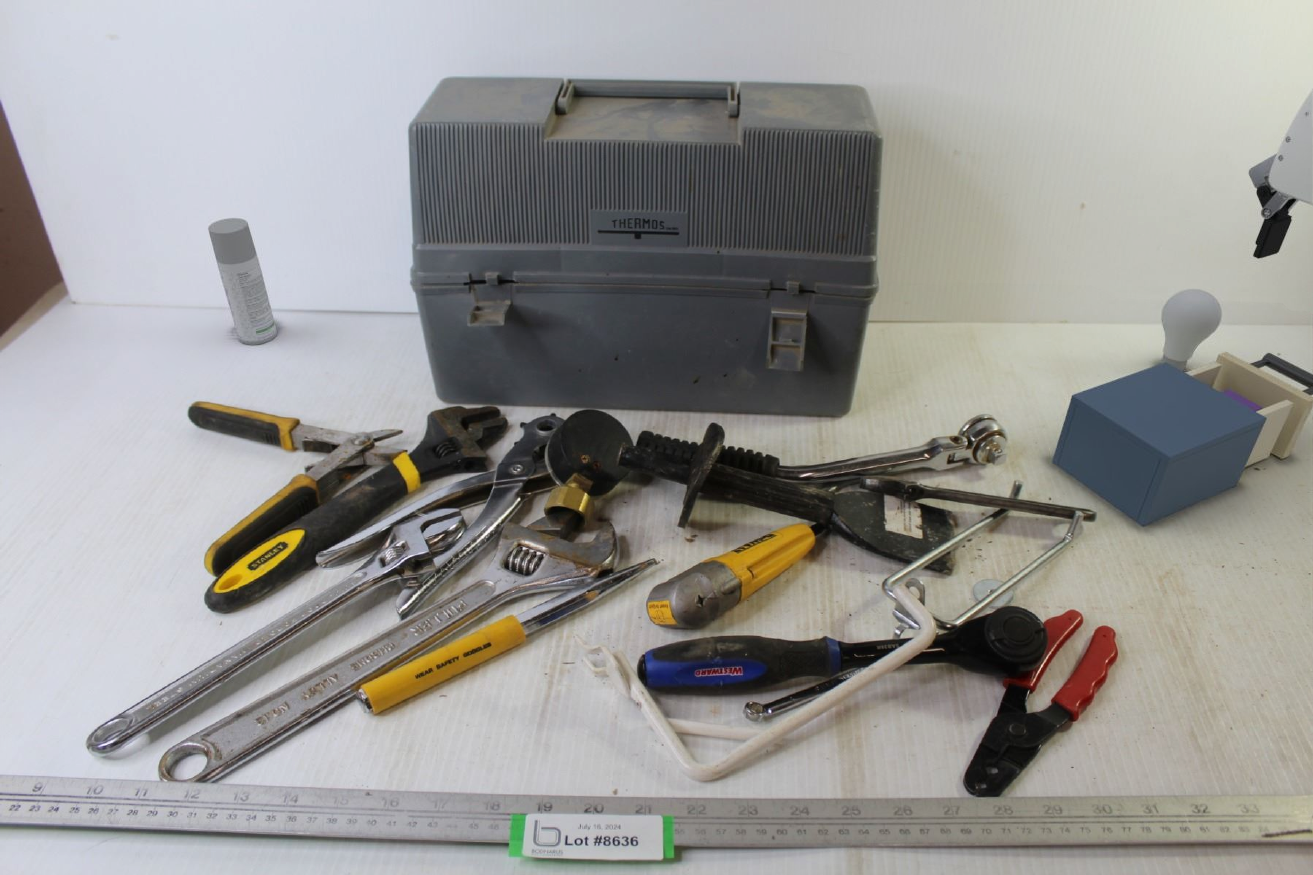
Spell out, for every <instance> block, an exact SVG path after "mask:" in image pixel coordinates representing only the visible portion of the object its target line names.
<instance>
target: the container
mask: <svg viewBox="0 0 1313 875" xmlns="http://www.w3.org/2000/svg"><path fill="white" fill-rule="evenodd" d="M207 230H208V233H209V237H210V241H211V242H210V243H211V245H212V246H211V247H212V250H213V253H214V256H215V262H216V265H217V269H218V272H219V275H220V279H221V283H222V286H223V289H224V293H225V297H226V299H227V304H228V307H229V310H230V314H231V317H232V321H233V324H234V327H235V331H236V334H237V337H238V340H239V342H240V343H242V344H244V345H248V346H254V345H255V346H256V345H262V344H266V343H268V342H270V341H272V340H273V339H275V338H276V337H277V335H278V330H277V326H276V323H275V322H276V321H275V319H274V314H273V310H272V306H271V303H270V299H269V295H268V290H267V287H266V284H265V279H264V276H263V272H262V268H261V265H260V264H261V263H260V260H259V256H258V254H257V250H256V246H255V243H254V240H253V236H252V232H251V229H250V226H249V223H248V221H247V220H246V219H243V218H239V217H230V218H223V219H218V220H216V221H214V222H212V223H210V225H209V226H208V228H207Z"/></svg>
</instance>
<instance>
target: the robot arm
mask: <svg viewBox="0 0 1313 875" xmlns="http://www.w3.org/2000/svg"><path fill="white" fill-rule="evenodd" d="M1248 176H1249V178H1250V180H1251V182H1252V185H1253V187H1254V189H1256V192H1255V193H1256V196H1257V199H1258V202H1259V203H1260V206H1261V210H1260V215H1261V217H1262V219H1263V221H1262V224H1261V226H1260V228H1259V229H1260V230H1259V232H1258V234H1257V237H1256V239H1255V245H1256V246H1255V249H1254V251H1253V254H1252V256H1253V258H1255V259H1258V260H1259V259H1264V258H1267V257H1270V256H1274V255H1276V254H1279V253H1280V250H1281V248H1282V246H1283V243H1284V241H1285V238H1286V236H1287V233H1288V231H1289V229H1290V226H1291V223H1292V222H1293V215H1290V214H1289V213H1290V211H1291V210H1292V209H1293V208H1294V207H1295V206H1296V204H1298V203H1299V201H1300V202H1302V203H1305V204H1307V205H1311V206H1313V88H1312V89H1311V91H1310V92H1309V93H1308V95H1307V96H1306V98H1305V99H1304V101H1303V103H1302V104H1301V106H1300V108H1299V109H1298V110H1297V113H1296V115H1295V116H1294V118H1293V119H1292V121H1291V123H1290V125H1289V127H1288V129H1287V131H1286V133H1285V135H1284V137H1283V139H1282V141H1281V143H1280V146H1279V148H1278V151H1277V152H1276V153H1274V154H1272V155H1271V156H1270V157H1267V158H1266V159H1264V160H1263V161H1261V162H1259V163H1257V164H1256V165H1254V166H1251V167H1250V168H1249V169H1248Z"/></svg>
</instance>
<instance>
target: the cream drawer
mask: <svg viewBox="0 0 1313 875" xmlns="http://www.w3.org/2000/svg"><path fill="white" fill-rule="evenodd" d="M1264 367H1267V368H1269V369H1271V370H1272V371H1275V372H1276V373H1278V374H1280V375H1282V376H1284V377H1286V378H1288V379H1290V380H1291V381H1294V382H1296V383H1298V384H1300V385H1301V386H1304V387H1306V388H1305V389H1303V390H1301V389H1299V388H1297V387H1295V386H1294V385H1291V384H1289V383H1287V382H1285V381H1283V380H1282V379H1280V378H1277V377H1276V376H1274V375H1272V374H1270V373H1268V372H1266V371H1264V370H1262V369H1261V368H1264ZM1185 373H1187V374H1189V375H1190V376H1192V377H1194V378H1196V379H1198V380H1199V381H1201V382H1203V383H1205V384H1207V385H1208V386H1210V387H1212V388H1214V389H1216V390H1217V391H1219V392H1223V391H1225V390H1228V389H1230V390H1231V391H1233V392H1235V393H1237V394H1239V395H1241V396H1242V397H1244V398H1246V399H1248V400H1250V401H1252V402H1253V403H1255V404H1257V405H1259V406H1261V407H1262V408H1263V409H1261V410H1259V411H1256V412H1257V413H1259V414H1261V415H1263V416H1264V417H1266V418H1267V419H1266V422H1265V424H1264V426H1263V428H1262V430H1261V432H1260V435H1259V437H1258V439H1257V441H1256V444H1255V446H1254V448H1253V450H1252V452H1251V455H1250V457H1249V459H1248V461H1247V463H1246V466H1245V468H1247V467H1249V466H1252V465H1254V464H1256V463H1259V462H1260V461H1263V460H1265V459H1267V458H1269V457H1270V455H1271V454H1272V455H1274V456H1276V457H1277V458H1279V459H1281V460H1283V459H1285V458H1289V457H1290V455H1291V453H1292V451H1293V448H1294V447H1295V445H1296V443H1297V440H1298V438H1299V436H1300V434H1301V432H1302V430H1303V429H1304V426H1305V424H1306V422H1307V419H1308V418H1309V416H1310V413H1311V412H1312V409H1313V373H1311V372H1310V371H1307V370H1306V369H1303V368H1301V367H1299V366H1297V365H1295V364H1293V363H1291V362H1289V361H1288V360H1285V359H1283V358H1281V357H1279V356H1277V355H1274V354H1273V353H1271V352H1267V353H1265V354H1264V356H1262V358H1261V359H1259V360H1257V361H1256V360H1255V361H1253V362H1251V363H1249V362H1247V361H1244V359H1241V358H1240V357H1237V356H1235V355H1233V354H1232V353H1229V352H1227V351H1224V352H1221V353H1218V354H1217V357H1216V360H1215V361H1214V362H1211V363H1208V364H1205V365H1202V366H1200V367H1197V368H1194V369H1191V370H1188V371H1185Z"/></svg>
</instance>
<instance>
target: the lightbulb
mask: <svg viewBox="0 0 1313 875" xmlns="http://www.w3.org/2000/svg"><path fill="white" fill-rule="evenodd" d="M1222 313H1223V312H1222V307H1221V304H1220V302H1219V301H1218V299H1217V298H1216V297H1215V296H1214V295H1213V294H1211V293H1210V292H1209V291H1206V290H1204V289H1199V288H1188V289H1184V290H1180V291H1178V292H1176V293H1175V294H1173V295H1172V296H1171V297H1169V298H1168V300H1167V301H1166V302H1165V304H1164V305H1163V307H1162V310H1161V325H1162V328H1163V332H1164V344H1163V349H1162V352H1163V355H1162V358H1161V363H1160V364H1162V363H1165V362H1167V363H1169V364H1170V365H1172V366H1174V367H1176V368H1178V369H1179V370H1181V371H1183V372H1184V370H1185V368H1186V366H1187V363H1188V361H1189V360H1191V358H1192V357H1193V355H1194V352H1195V351H1196V350H1197V348H1198V347H1199V346H1200V345H1201V343H1202V342H1204V341H1205V340H1206V339H1208V338H1210V337H1211V336H1212V334H1214V333H1215V332H1216V330H1217V329H1218V328H1219V326H1220V324H1221V321H1222V317H1223V316H1222V315H1223V314H1222Z"/></svg>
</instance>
